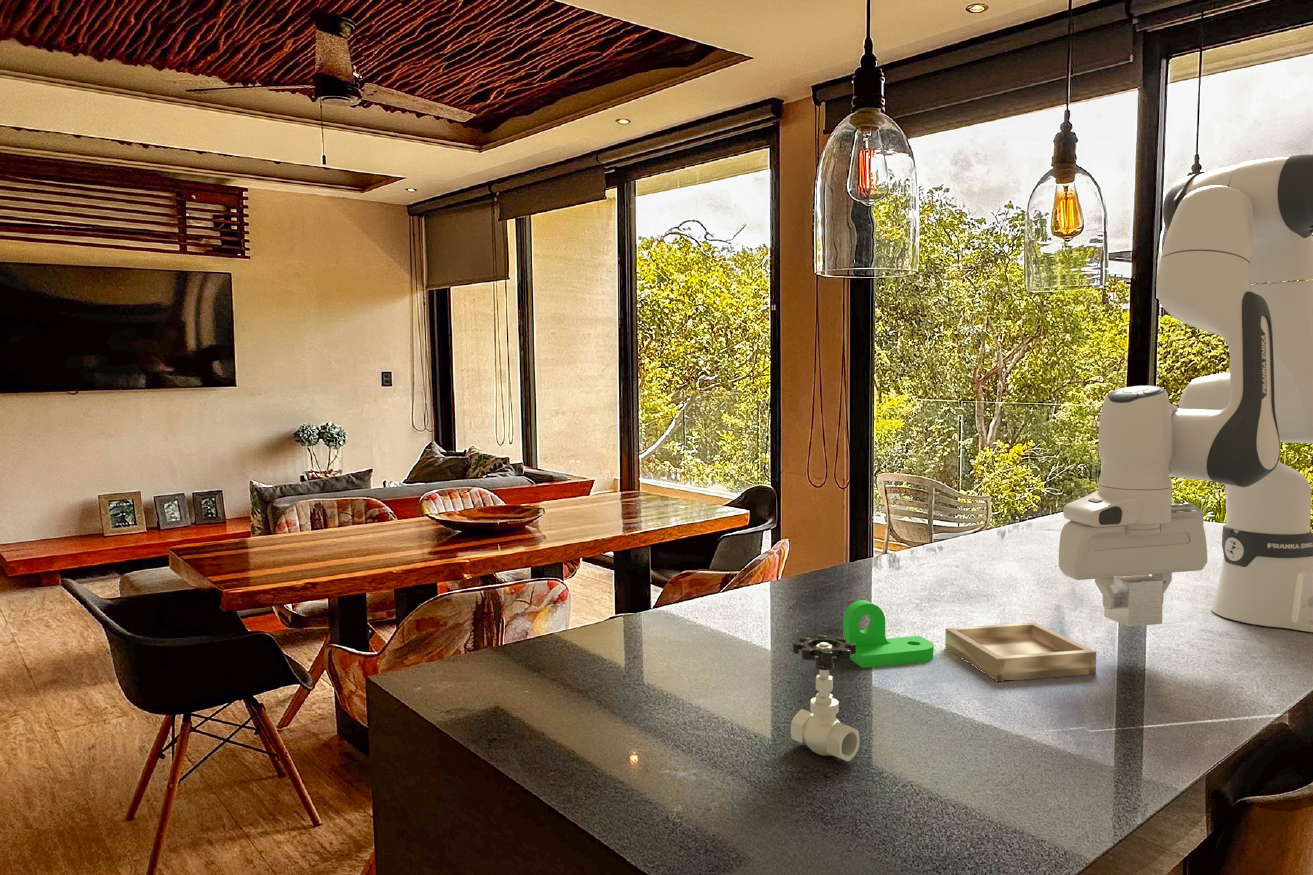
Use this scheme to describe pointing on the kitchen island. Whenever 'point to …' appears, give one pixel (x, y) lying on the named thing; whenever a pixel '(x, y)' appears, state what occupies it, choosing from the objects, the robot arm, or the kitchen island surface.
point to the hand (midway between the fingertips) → (1132, 606)
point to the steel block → (1137, 600)
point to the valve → (824, 701)
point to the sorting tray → (1020, 651)
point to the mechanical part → (881, 639)
